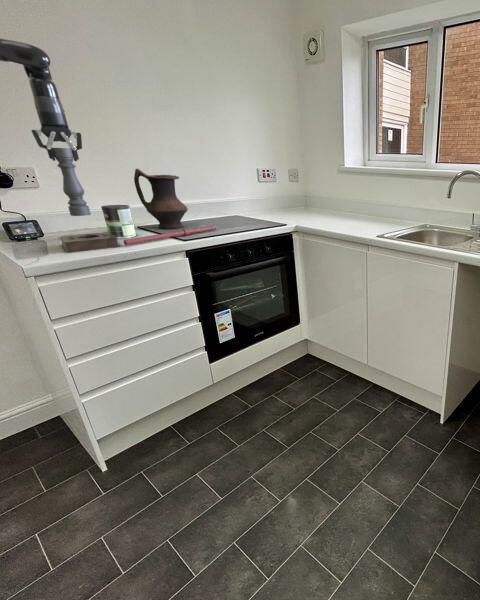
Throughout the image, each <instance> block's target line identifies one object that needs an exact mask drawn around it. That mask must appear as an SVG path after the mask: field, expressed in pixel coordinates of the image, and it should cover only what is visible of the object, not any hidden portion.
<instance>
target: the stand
mask: <svg viewBox="0 0 480 600" xmlns="http://www.w3.org/2000/svg"><path fill="white" fill-rule="evenodd" d="M59 239H60V240H61V244H62V247H64V249H65V250H66V252H67V253H76V252H84V251H94V250H102V249H111V248H119V247H120V245H119V241H118V239H117V238H116V237H115V236H114V235H112V234H111V233H109V232H108V231H102V232H90V233H80V234H79V233H77V234H67V235H60V236H59Z"/></svg>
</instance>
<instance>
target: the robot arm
mask: <svg viewBox="0 0 480 600" xmlns="http://www.w3.org/2000/svg"><path fill="white" fill-rule="evenodd" d="M0 62H2V63H14V64H17V65H18V64H19V65H22V66H23V69H24V72H25V74H26V76H27V79H28V82H29V87H30V90H31V94H32V97H33V103H34V107H35V110H36V113H37V116H38V120H39V124H40V129H31V130H30V132H31V134H32V136H33V137H34V140H35V141H36V143H37V145H38V147H39V148H41V149H44V150H46V151H47V155H48V158H49V159H50V160H52V162H53V161H54V162H55V161H57V160H56V159H55V157H54V153H53V150H52V149H51V148H53V143H54V142H61V143H66V144H67V146H68V148H71V149H72V152H73V156H74V157H73V159H74V160H73V162H78V160H80V157H79V154H78V151H79V150H82V149H83V139H82V133H81V132H75V131H72V130H71V129H70V128H69V124H68V120H67V116H66V113H65V109H64V105H63V103H62V101H61V99H60V95H59V91H58V89H57V86H56V83H55V82H54V81H53V78H52V74H51V69H50V66H51V58H50V56H49V55H48V53H47V52H46V51H45V50H44V49H42V48H40V47H38V46H35V45H33V44H29V43H27V42H21V41H17V40H16V41H15V40H11V39H5V38H2V37H0ZM41 133H42V134H43V135H45V137H47V140H46V144H44V143H43V141H42V139H41V138H40V137H41V136H42V134H41ZM71 136H72V137H73V138H74V139H75V141H76V146H75V145H74V144H73V142H72V141H71V140H70V138H71Z"/></svg>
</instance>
